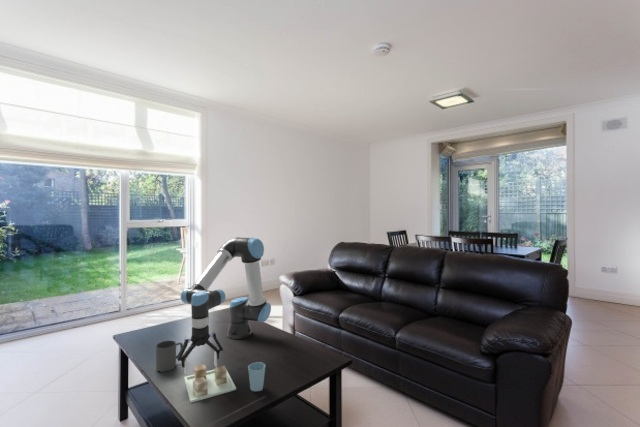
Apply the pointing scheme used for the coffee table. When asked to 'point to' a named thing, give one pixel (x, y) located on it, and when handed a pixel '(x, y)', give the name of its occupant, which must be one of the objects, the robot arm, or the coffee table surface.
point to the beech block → (220, 375)
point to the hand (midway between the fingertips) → (200, 369)
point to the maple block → (200, 387)
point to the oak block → (200, 372)
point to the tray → (209, 386)
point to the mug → (166, 355)
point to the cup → (256, 375)
